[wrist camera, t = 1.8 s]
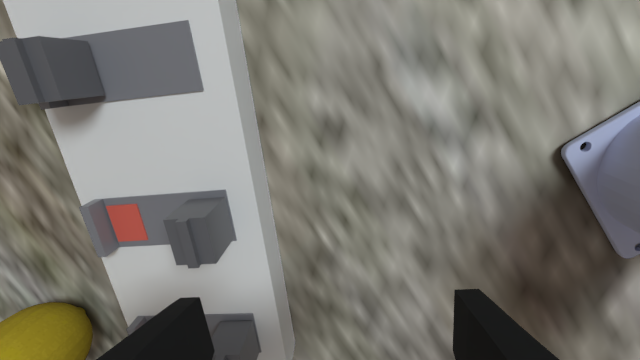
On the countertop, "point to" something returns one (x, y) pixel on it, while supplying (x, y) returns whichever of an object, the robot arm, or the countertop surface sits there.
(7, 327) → the lemon
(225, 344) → the switch far
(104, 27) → the switch panel
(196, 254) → the switch middle
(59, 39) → the switch near
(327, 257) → the countertop surface
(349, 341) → the countertop surface
